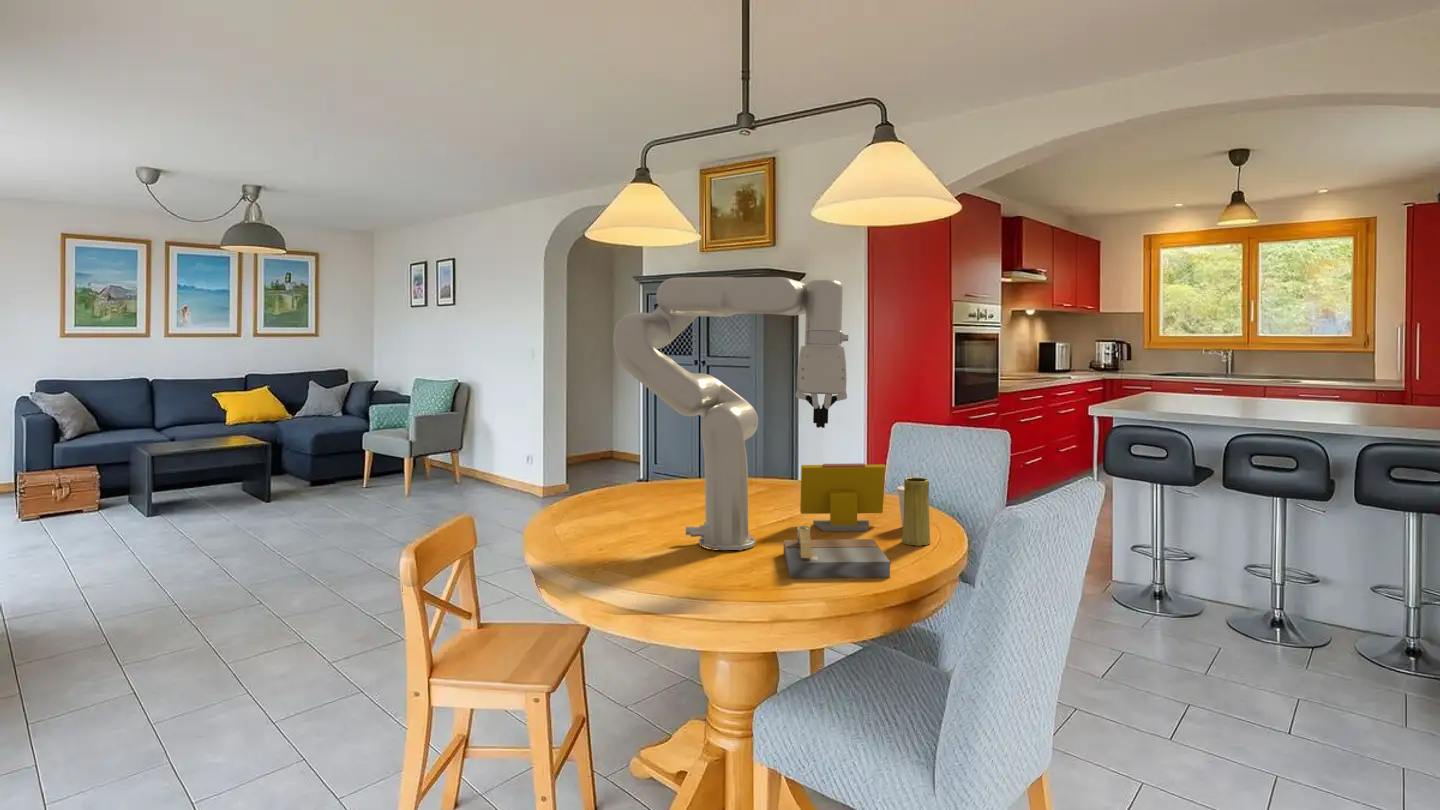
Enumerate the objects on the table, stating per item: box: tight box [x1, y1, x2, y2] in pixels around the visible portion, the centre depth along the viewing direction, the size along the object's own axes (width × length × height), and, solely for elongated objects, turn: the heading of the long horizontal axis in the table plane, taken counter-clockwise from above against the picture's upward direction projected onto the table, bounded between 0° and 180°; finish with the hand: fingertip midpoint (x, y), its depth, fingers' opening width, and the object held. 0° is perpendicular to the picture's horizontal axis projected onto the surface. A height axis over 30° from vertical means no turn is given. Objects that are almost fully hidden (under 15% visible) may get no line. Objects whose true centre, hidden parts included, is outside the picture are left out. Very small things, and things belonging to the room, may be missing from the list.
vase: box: [901, 477, 931, 547], centre depth 171 cm, size 6×6×14 cm
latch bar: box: [796, 525, 812, 558], centre depth 155 cm, size 14×3×3 cm, turn 176°
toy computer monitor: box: [799, 462, 887, 532], centre depth 186 cm, size 20×8×16 cm, turn 88°
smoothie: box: [896, 469, 914, 528], centre depth 185 cm, size 6×6×14 cm
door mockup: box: [783, 538, 891, 579], centre depth 155 cm, size 19×17×3 cm
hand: (820, 426), depth 163 cm, fingers closed
